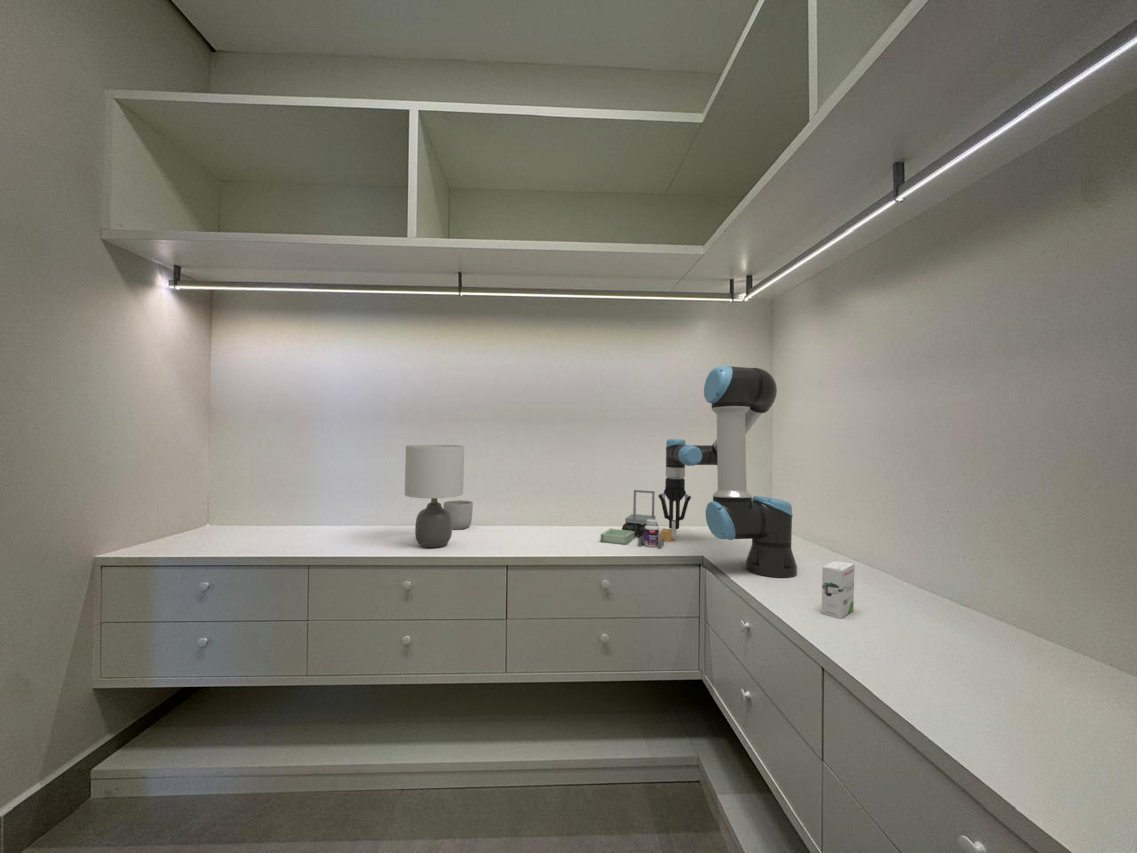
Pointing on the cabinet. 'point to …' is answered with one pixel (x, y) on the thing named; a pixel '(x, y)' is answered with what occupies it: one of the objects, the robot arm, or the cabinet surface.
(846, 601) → the ink box
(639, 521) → the trolley
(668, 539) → the block
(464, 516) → the planter
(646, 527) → the pill bottle
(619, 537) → the tray
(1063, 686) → the cabinet surface
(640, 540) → the pin bracket
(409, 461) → the lamp
